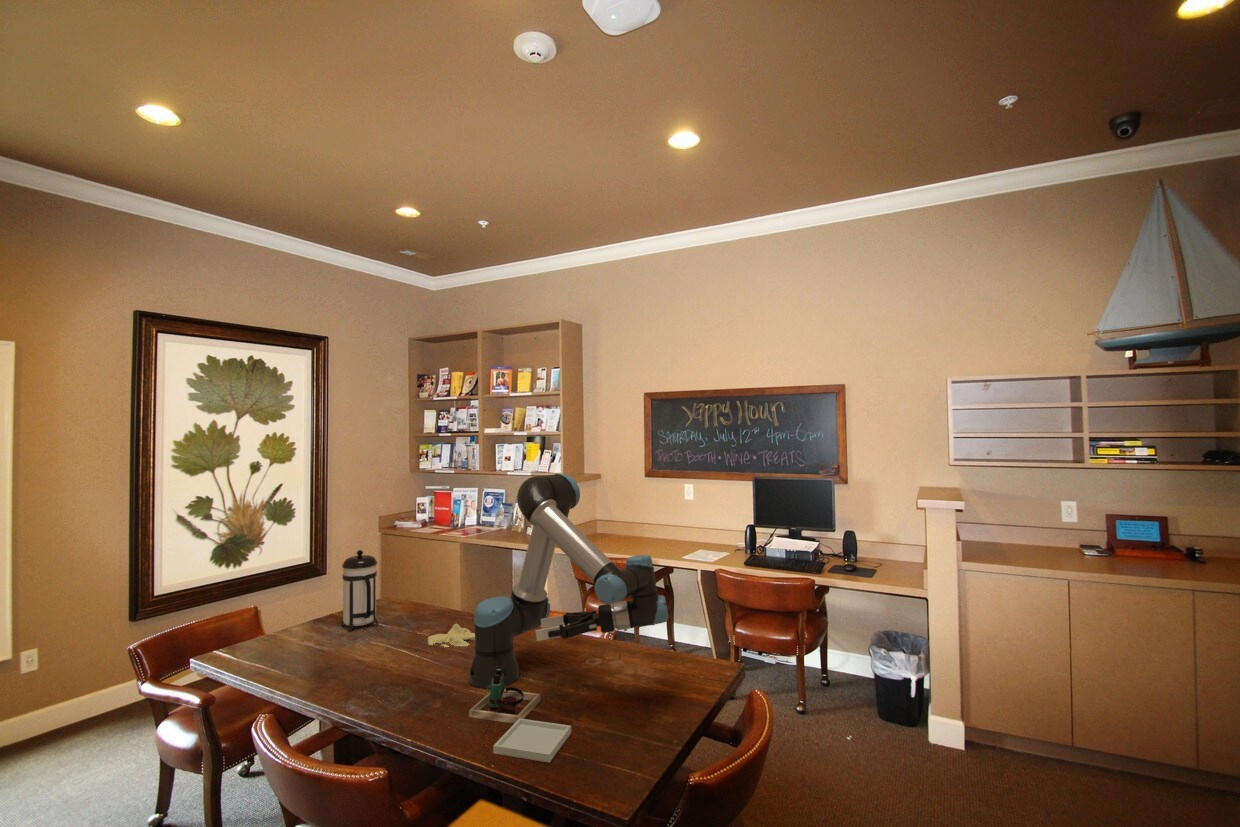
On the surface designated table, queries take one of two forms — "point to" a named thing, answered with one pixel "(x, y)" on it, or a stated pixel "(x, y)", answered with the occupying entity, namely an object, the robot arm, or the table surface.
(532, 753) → the tray
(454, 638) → the cloth
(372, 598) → the coffee press
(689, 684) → the table surface
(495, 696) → the binoculars
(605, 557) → the robot arm
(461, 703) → the table surface
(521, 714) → the holder
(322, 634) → the table surface
